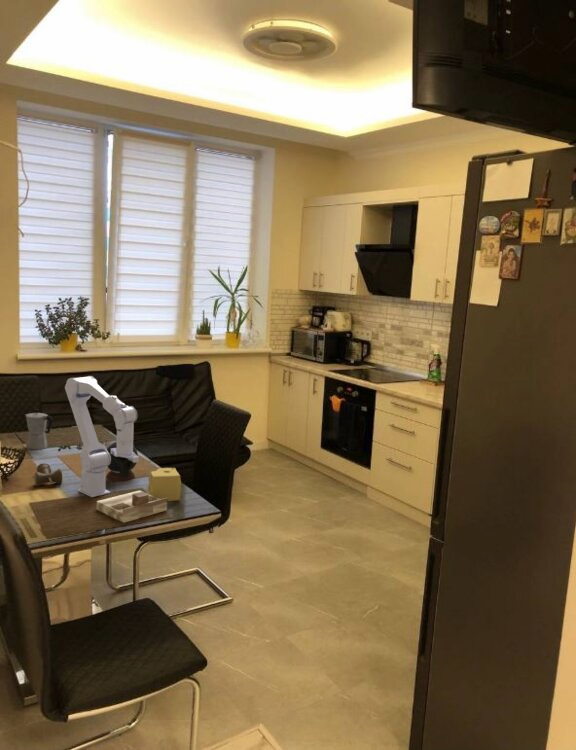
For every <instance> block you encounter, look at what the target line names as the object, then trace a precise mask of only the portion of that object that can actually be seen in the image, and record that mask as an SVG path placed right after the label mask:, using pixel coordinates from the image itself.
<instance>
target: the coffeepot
mask: <svg viewBox="0 0 576 750" xmlns="http://www.w3.org/2000/svg"><path fill="white" fill-rule="evenodd" d="M24 416H25V419H26V424H27V425H26V426H27V430H28V435H27V441H26V445H25V447H26V449H27V450H34V451H36V450H44V449H46V448H48V441H47V440H48V439H47V434H49V433H50V432H51V429H52V427H53V422H54V419H53V418H52V416H51V415H48V414H46V413H43V412H42V413H41V412H40V409H39V408H35V412H32V413H26V414H24ZM47 422H48V426H47ZM46 429H47V430H46Z"/></svg>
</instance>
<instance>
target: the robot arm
mask: <svg viewBox="0 0 576 750" xmlns="http://www.w3.org/2000/svg"><path fill="white" fill-rule="evenodd" d="M64 389H65V393H66V395H67V399H68V401H69V405H70V408H71V410H72V414H73V417H74V420H75V423H76V426H77V429H78V432H79V435H80V439H81V441H82V444H83V447H82V449H81V451H80V452H79V457H80V465H81V467H82V470H81V473H80V488H79V489H78V492H80V493H82V494H84V495H87V496H88V497H91V498H94V497H100V496H103V495H107V494H110V493H111V491H109V490H108V489H106V486H107V485H106V483H107V482H106V480H107V469H108V466H109V464H110V462H111V456H110V454H109V452H108V451H107V447H106V445H105V444H102V443H101V442H99V439H98V437H97V433H96V430H95V427H94V424H93V422H92V421H93V420H92V418H91V415H90V411H89V409H88V405H87V401H88V400H90V398H91V397H94V398H95V399H97V401H99V402H100V403H101V404H102V408H103V409H104V410H105V411H106V412H108V413H109V414H110V415H111V416H112V417H113V420H114V422H115V428H116V442H117V448H112V449H111V454H114V456H116V457H118V458H115V462H116V464H117V466H118V469H119V473H120V477H121V478H126V477H128V473H129V470H130V467H131V465H132V463H133V462H134V463H136V462H137V463H139V462H140V456H139V455H138V456H137V455H136V454H135V453H134V452H133V446H134V423H135V422H136V421H137V419H138V410H137V409H136V408H135V407H134V406H132V405H130V406H129V405H126V404H125V403H124V402H123V401H122V400H120V399H119V398H118V397H117V395H110V394H108V393H107V392H106V391H105V390H104V389H103V388H102V387H101V386H100V385H99V384H98V380H97V379H96V378H95V377H94V376H92V375H88V376H83V377H82V376H79V377H70V378H68V379H67V380H66V384H65V386H64ZM137 463H136V464H137Z"/></svg>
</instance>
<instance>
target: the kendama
mask: <svg viewBox="0 0 576 750" xmlns="http://www.w3.org/2000/svg"><path fill="white" fill-rule="evenodd" d="M34 483H35V486H36V487H37V486H38V487H40V486H42V485H44V484H46V483H49V484H52V483H55V484H58V485H62V484H63V473H62V468H58V469H56V470H55V471H53V472H52V470H51V466H50V464H49V463H47V462H42V463H40V464H38V466H37V467H36V471H35V473H34Z"/></svg>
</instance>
